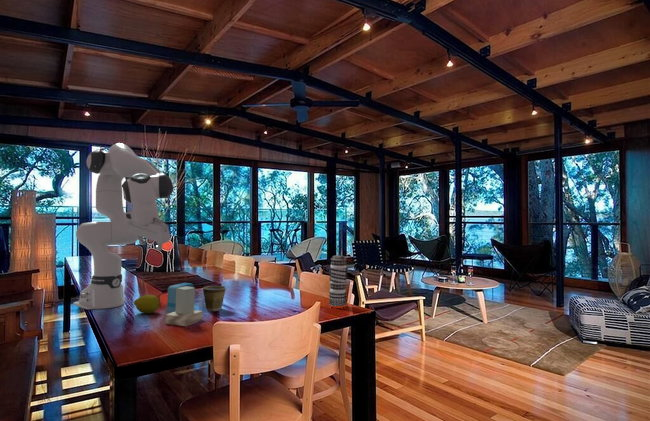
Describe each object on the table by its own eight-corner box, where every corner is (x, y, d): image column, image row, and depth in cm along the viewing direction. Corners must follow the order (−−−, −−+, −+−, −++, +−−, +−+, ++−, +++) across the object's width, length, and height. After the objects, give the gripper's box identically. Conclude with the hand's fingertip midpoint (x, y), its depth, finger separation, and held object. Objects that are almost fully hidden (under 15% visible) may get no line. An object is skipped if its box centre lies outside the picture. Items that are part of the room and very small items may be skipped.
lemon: (163, 312, 163) (164, 293, 163) (151, 316, 155) (152, 297, 155) (142, 310, 165) (143, 292, 165) (129, 314, 157) (130, 295, 158)
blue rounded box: (175, 315, 158) (176, 287, 158) (166, 314, 159) (167, 286, 160) (193, 309, 169) (194, 282, 170) (184, 308, 171) (185, 282, 171)
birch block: (165, 324, 146) (165, 314, 146) (182, 318, 155) (182, 308, 155) (186, 327, 143) (186, 317, 143) (202, 320, 152) (202, 311, 152)
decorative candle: (344, 309, 176) (345, 257, 177) (325, 307, 179) (327, 256, 179) (348, 305, 185) (349, 255, 185) (330, 303, 188) (332, 254, 188)
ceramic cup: (228, 310, 169) (228, 288, 169) (206, 313, 163) (206, 290, 163) (218, 304, 179) (219, 283, 179) (197, 306, 174) (198, 285, 174)
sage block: (175, 312, 148) (176, 288, 148) (185, 310, 153) (186, 286, 153) (183, 314, 146) (184, 289, 146) (193, 312, 150) (194, 287, 150)
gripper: (172, 218, 142) (175, 250, 147) (135, 207, 150) (140, 238, 155) (158, 224, 137) (163, 256, 142) (121, 212, 145) (126, 244, 150)
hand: (150, 247), depth 149 cm, fingers open, 8 cm apart
